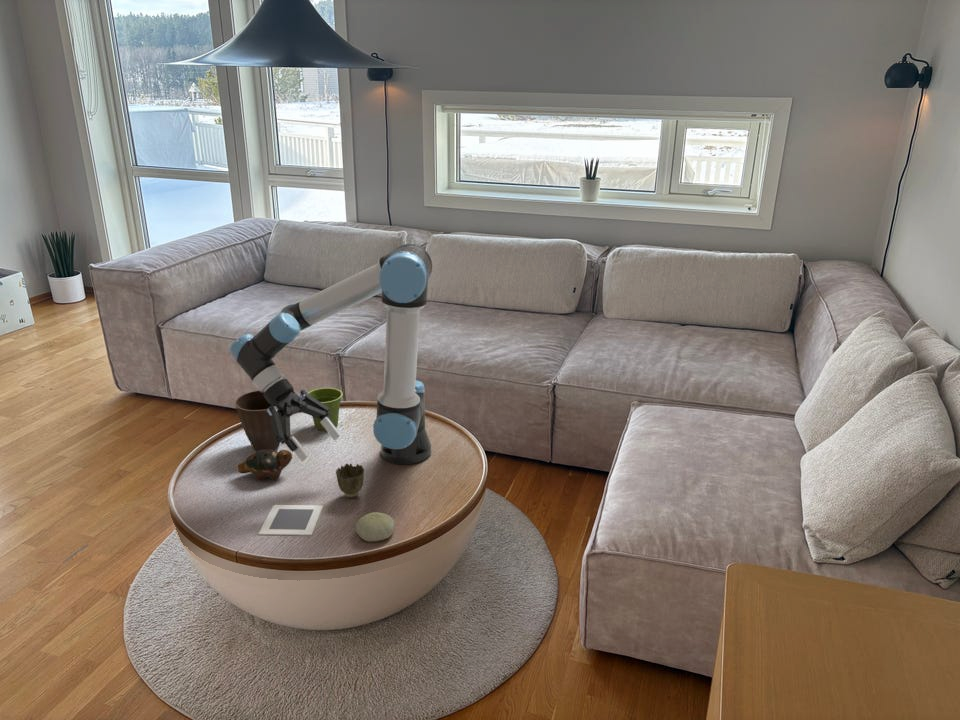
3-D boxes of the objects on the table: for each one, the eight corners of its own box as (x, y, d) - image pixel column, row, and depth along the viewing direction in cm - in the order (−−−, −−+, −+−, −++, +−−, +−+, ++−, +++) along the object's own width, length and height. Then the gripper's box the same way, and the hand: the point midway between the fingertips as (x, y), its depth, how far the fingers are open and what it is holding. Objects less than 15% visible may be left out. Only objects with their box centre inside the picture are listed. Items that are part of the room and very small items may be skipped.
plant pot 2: (308, 420, 236) (305, 388, 232) (344, 417, 238) (342, 386, 234) (306, 436, 225) (303, 403, 221) (344, 433, 227) (342, 401, 223)
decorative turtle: (294, 481, 199) (290, 456, 196) (238, 490, 197) (233, 465, 193) (295, 463, 208) (291, 439, 205) (241, 471, 205) (236, 447, 202)
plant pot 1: (291, 456, 213) (287, 407, 207) (239, 461, 209) (233, 412, 204) (291, 434, 226) (287, 387, 221) (242, 439, 223) (236, 392, 217)
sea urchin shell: (397, 536, 172) (372, 517, 169) (375, 557, 173) (350, 538, 171) (398, 515, 180) (374, 497, 178) (376, 535, 182) (353, 517, 179)
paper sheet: (323, 506, 187) (323, 505, 187) (311, 535, 175) (311, 534, 175) (273, 505, 187) (273, 504, 187) (258, 534, 175) (258, 533, 175)
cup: (369, 490, 195) (368, 464, 192) (359, 504, 188) (357, 478, 185) (344, 487, 196) (342, 461, 194) (333, 501, 190) (331, 474, 187)
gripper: (298, 377, 205) (343, 436, 204) (233, 409, 184) (283, 474, 183) (311, 363, 200) (357, 423, 199) (246, 394, 180) (297, 461, 179)
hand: (322, 448), depth 191 cm, fingers open, 13 cm apart
